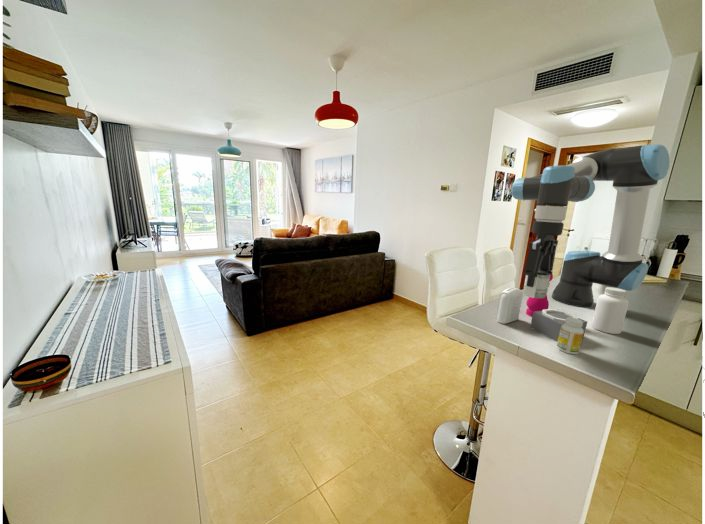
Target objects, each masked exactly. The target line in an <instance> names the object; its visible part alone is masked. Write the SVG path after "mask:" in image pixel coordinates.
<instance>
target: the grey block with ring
mask: <svg viewBox="0 0 705 524" xmlns="http://www.w3.org/2000/svg"><path fill="white" fill-rule="evenodd" d="M567 317H571V318H576V319H579V320H581V321H583V326H582V327H581V328H582V329H583V330H584V334H583V337H582V340H583V339H584V337H585V333H586V331H587V330H586V329H587V325H588V321H587V320H584V319H583V318H579V317H578V316H577V315H575V314H572V313H570V312H568V311H564V310H560V309H554V308H548V309H543V310H542V311H534V312H533V317H531V322H530V327H529V328H530V329H532V330H534V331H536V332H538V333H540V334H542V335H543V336H546V337H548V338H550V339H551V340H553V341H554V342H556V343H557V342H558V337H559V333H560V329H561V326H562V325H563V324H566V323H565V321H566V318H567Z"/></svg>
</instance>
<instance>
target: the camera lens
mask: <svg viewBox="0 0 705 524" xmlns="http://www.w3.org/2000/svg"><path fill="white" fill-rule="evenodd" d="M527 276H528V275H525V279H524V284H523V294H524V293H525V287H526V282H527ZM537 277H538V282H537V287H536V292H535V298H545V296H546V294H547V295H548V291H549V287H548V285H549V286H550V284H549V283H550V282H549V280H550V274H549V273H546V272H545V271H541V270H539V272H538V275H537Z"/></svg>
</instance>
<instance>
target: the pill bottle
mask: <svg viewBox="0 0 705 524" xmlns="http://www.w3.org/2000/svg"><path fill="white" fill-rule="evenodd" d="M626 295H627V290H623V289H619V288H613V287H609V286H605V289H604V292H603V293H602V294H600V295H599V296H598V297H597V300H596V306H595V309H594V313H593V318H592V321H591V326H592V328H593V329H595V330H597V331H600V332H601V333H602V332H603V333H607V334H610V335H611V334H612V335H620V334H621V333H622V330H623V327H624V323H625V319H626V315H627V311H628V308H629V300H628V299H626V298H625V297H626Z"/></svg>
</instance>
